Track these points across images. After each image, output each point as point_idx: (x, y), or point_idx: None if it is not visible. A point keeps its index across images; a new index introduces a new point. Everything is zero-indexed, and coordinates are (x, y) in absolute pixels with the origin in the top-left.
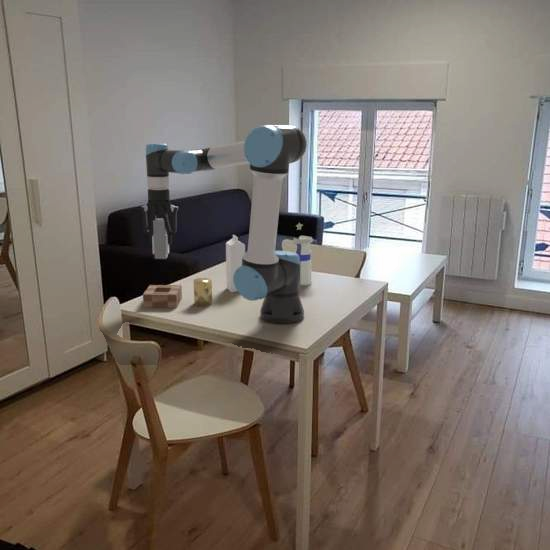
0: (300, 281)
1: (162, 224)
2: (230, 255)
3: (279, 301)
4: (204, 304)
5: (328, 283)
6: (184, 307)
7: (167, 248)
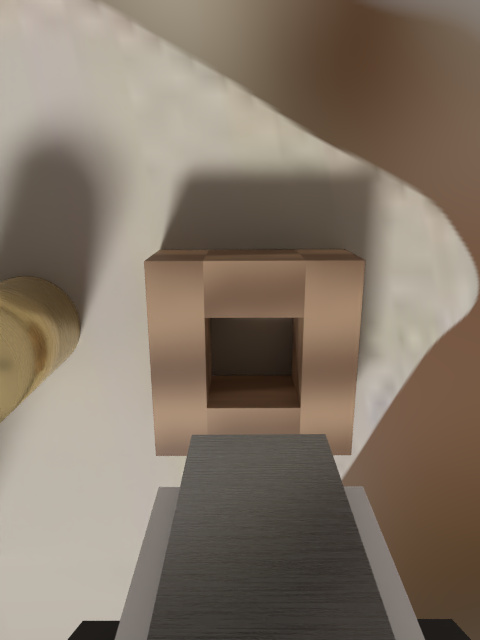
0: None
1: None
2: None
3: None
4: (7, 280)
5: None
6: (119, 258)
7: (147, 543)
